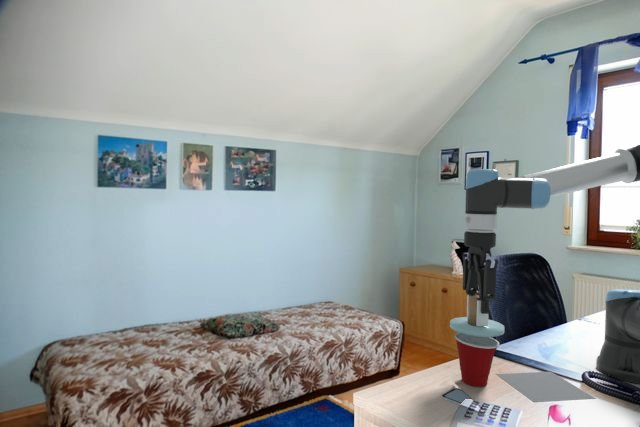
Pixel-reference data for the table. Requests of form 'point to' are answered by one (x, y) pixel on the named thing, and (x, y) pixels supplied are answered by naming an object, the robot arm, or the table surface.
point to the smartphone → (455, 396)
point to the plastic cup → (475, 358)
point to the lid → (470, 325)
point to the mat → (544, 386)
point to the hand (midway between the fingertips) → (477, 322)
